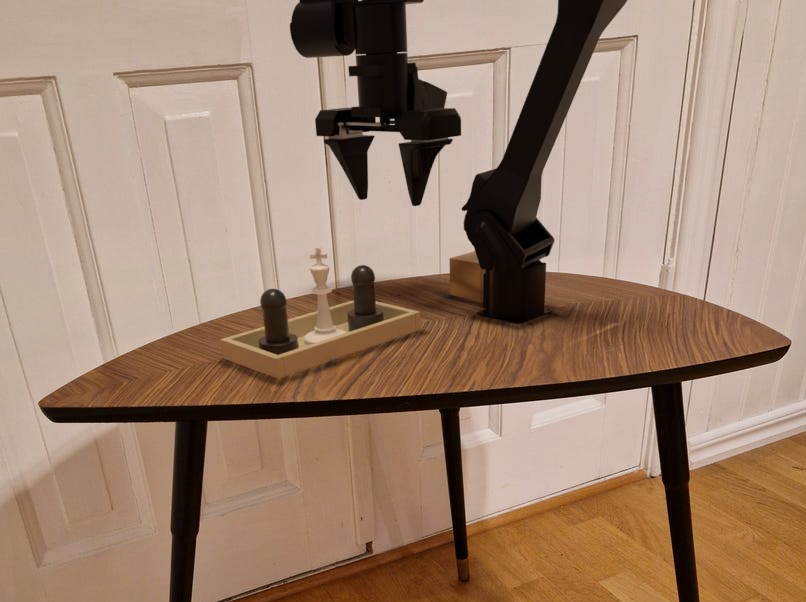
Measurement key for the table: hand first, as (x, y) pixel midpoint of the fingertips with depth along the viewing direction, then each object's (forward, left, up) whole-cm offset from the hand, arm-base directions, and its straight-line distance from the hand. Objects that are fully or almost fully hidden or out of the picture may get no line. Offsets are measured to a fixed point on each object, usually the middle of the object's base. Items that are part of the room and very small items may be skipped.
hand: (389, 202), depth 96 cm
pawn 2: (-7, +11, -12) cm, 17 cm away
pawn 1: (-7, +23, -12) cm, 27 cm away
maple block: (-7, -8, -12) cm, 16 cm away
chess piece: (-7, +17, -12) cm, 22 cm away
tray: (-7, +17, -12) cm, 22 cm away
